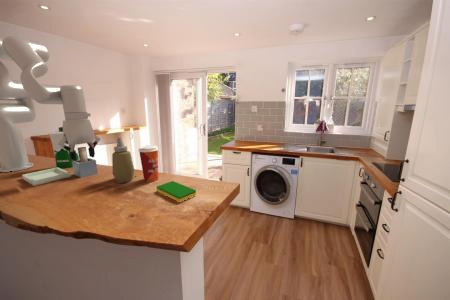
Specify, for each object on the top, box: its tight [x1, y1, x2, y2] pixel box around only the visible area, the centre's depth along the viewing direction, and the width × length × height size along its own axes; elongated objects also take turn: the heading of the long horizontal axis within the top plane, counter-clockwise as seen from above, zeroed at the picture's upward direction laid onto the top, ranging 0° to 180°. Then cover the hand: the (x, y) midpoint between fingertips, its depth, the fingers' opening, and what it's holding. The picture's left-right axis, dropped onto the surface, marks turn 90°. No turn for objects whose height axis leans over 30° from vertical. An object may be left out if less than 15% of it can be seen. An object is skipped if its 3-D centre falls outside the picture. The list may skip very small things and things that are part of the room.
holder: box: [72, 157, 99, 179], centre depth 88 cm, size 7×7×7 cm
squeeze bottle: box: [111, 137, 135, 184], centre depth 81 cm, size 8×8×18 cm
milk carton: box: [48, 126, 79, 169], centre depth 99 cm, size 9×9×20 cm
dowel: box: [77, 146, 89, 163], centre depth 87 cm, size 3×3×12 cm
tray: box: [21, 166, 72, 187], centre depth 84 cm, size 14×12×3 cm
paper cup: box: [138, 144, 159, 183], centre depth 83 cm, size 8×8×14 cm
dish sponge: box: [156, 180, 197, 203], centre depth 70 cm, size 7×14×2 cm, turn 49°
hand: (83, 158), depth 87 cm, fingers open, 6 cm apart
